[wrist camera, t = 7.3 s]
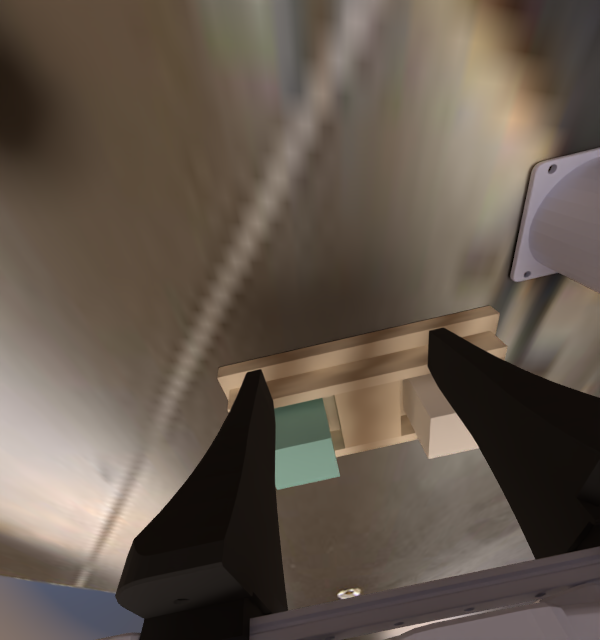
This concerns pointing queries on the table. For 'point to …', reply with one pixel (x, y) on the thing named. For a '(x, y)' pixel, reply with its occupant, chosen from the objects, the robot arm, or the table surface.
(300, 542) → the table surface
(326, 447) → the teal block
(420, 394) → the cream block
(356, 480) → the table surface
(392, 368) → the assembly board
